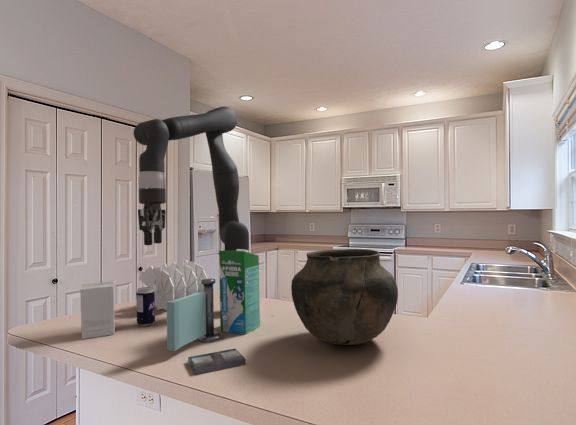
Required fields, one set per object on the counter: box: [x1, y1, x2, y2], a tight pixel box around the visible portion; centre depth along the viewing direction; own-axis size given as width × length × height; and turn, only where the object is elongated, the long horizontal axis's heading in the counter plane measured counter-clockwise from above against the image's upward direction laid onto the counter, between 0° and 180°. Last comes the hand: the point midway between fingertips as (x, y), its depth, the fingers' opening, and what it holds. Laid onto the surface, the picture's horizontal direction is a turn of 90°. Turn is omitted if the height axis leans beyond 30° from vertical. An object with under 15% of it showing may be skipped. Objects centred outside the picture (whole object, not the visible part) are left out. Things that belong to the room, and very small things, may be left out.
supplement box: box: [79, 281, 116, 340], centre depth 113 cm, size 9×9×15 cm
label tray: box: [187, 348, 247, 376], centre depth 88 cm, size 12×8×2 cm, turn 117°
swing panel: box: [166, 292, 206, 351], centre depth 98 cm, size 14×2×12 cm, turn 157°
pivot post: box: [196, 277, 222, 343], centre depth 106 cm, size 7×7×17 cm
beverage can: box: [135, 286, 156, 327], centre depth 121 cm, size 6×6×12 cm
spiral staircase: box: [138, 259, 209, 312], centre depth 147 cm, size 18×18×25 cm
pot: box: [290, 248, 399, 346], centre depth 101 cm, size 29×32×25 cm
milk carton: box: [218, 249, 261, 335], centre depth 115 cm, size 9×9×25 cm
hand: (153, 244), depth 108 cm, fingers open, 6 cm apart
